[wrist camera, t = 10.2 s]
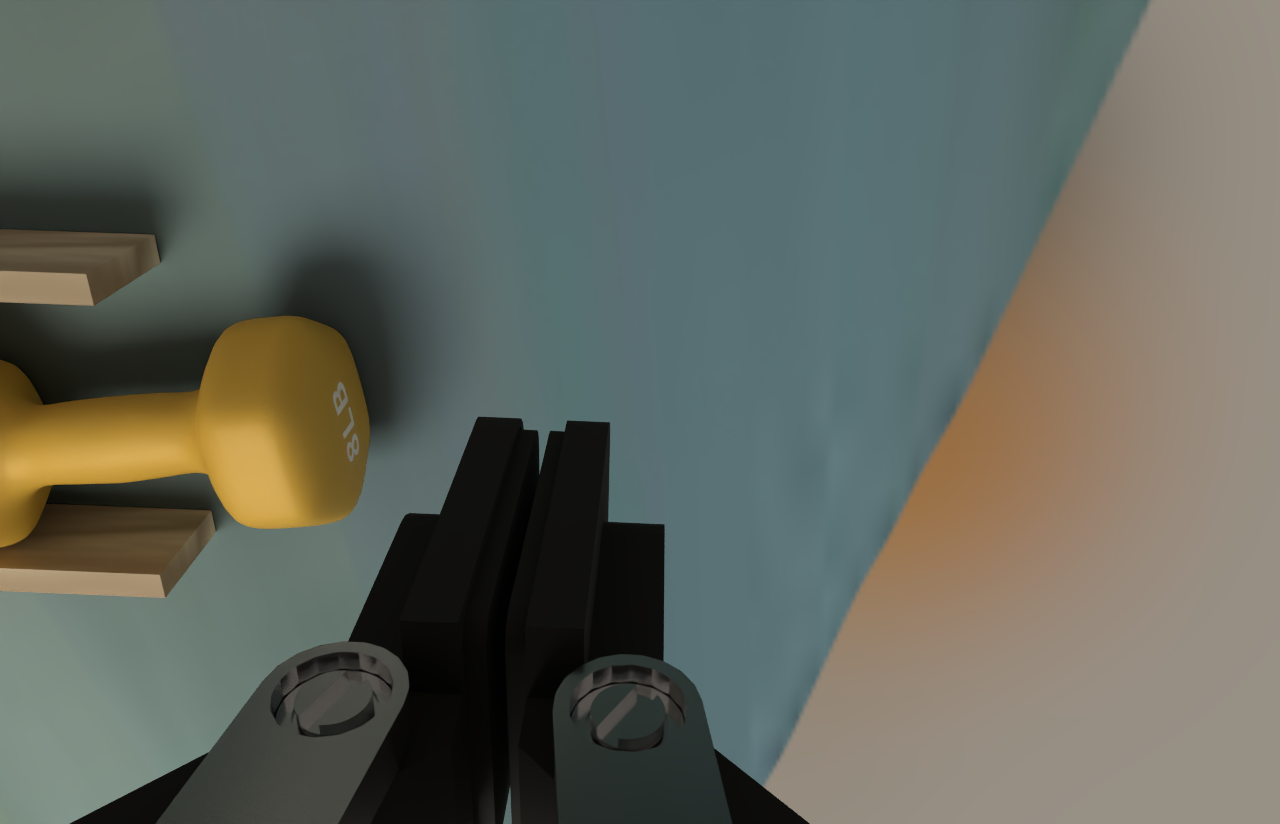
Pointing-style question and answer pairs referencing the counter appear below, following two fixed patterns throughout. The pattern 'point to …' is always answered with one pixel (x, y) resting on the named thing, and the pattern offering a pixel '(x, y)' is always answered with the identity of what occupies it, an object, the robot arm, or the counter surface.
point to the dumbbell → (205, 432)
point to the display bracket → (82, 534)
